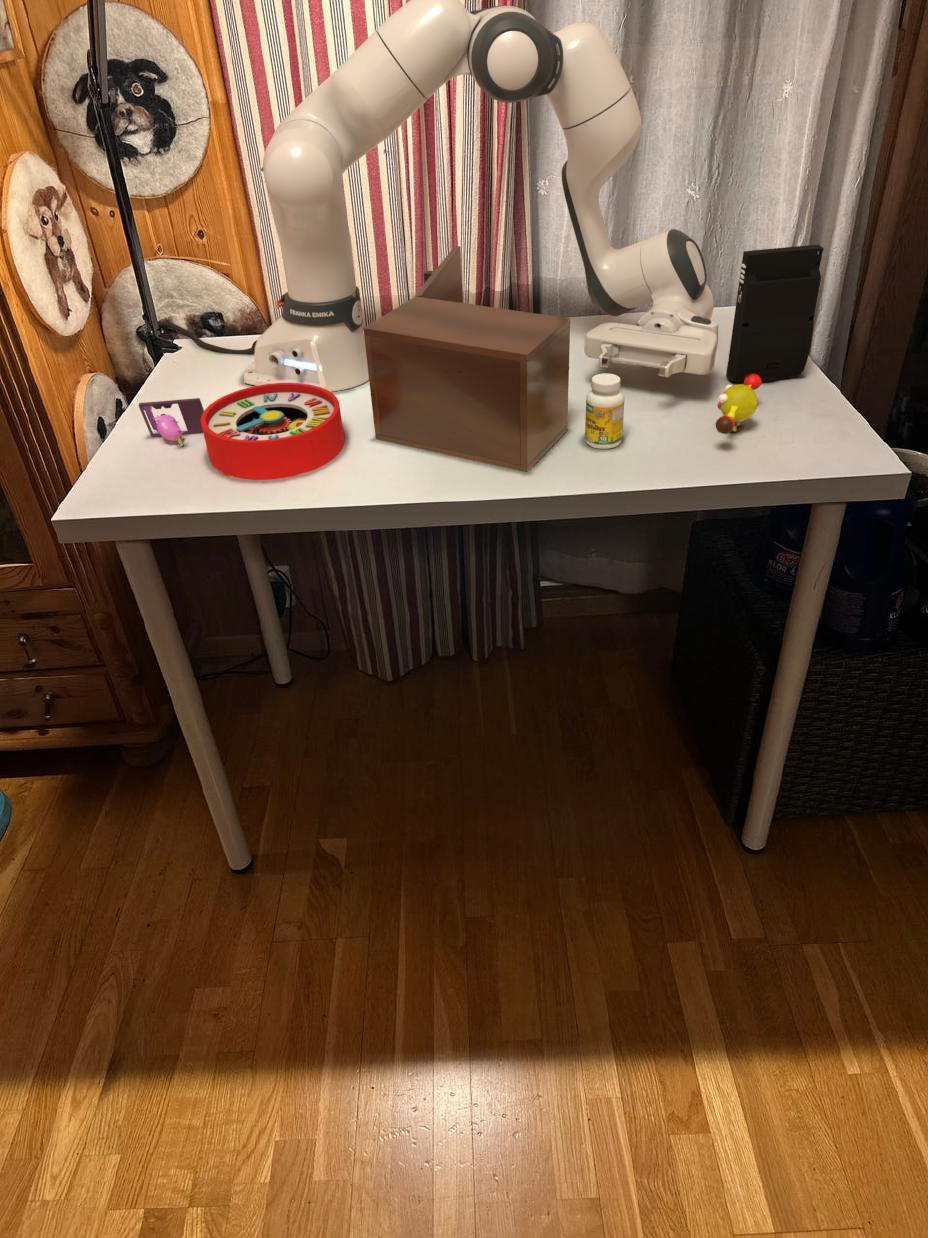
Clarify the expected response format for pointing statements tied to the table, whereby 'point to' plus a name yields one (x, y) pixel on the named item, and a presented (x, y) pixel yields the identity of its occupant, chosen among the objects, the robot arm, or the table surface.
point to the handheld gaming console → (774, 313)
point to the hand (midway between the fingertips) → (632, 366)
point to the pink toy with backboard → (168, 424)
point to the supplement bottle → (604, 412)
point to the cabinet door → (444, 279)
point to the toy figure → (737, 403)
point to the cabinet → (469, 380)
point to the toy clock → (273, 431)
